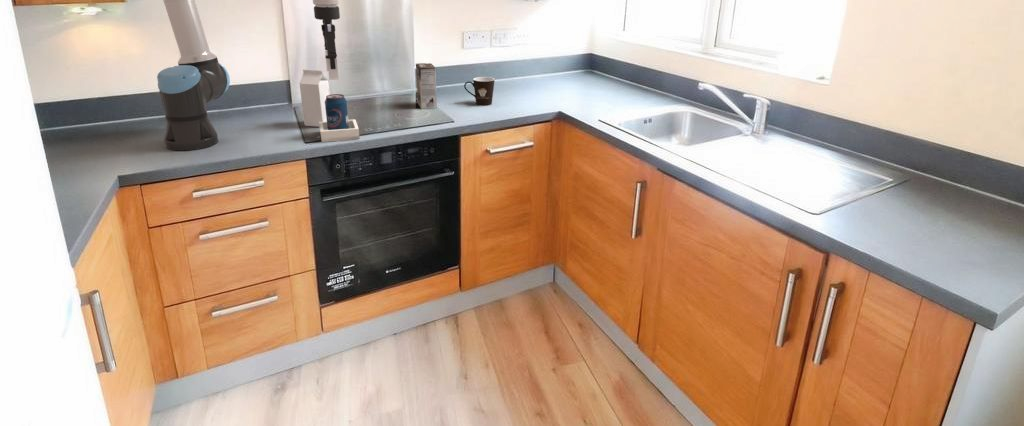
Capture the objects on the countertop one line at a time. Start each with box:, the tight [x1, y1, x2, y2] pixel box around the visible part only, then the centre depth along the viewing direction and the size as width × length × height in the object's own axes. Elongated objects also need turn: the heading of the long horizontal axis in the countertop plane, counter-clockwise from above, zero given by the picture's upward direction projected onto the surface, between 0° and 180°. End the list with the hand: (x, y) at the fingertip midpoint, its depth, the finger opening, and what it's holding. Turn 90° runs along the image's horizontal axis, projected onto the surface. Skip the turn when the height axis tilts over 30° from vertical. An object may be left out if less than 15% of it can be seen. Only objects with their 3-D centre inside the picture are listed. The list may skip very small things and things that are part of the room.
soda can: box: [325, 93, 349, 130], centre depth 200 cm, size 7×7×12 cm
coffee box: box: [415, 62, 438, 110], centre depth 237 cm, size 9×6×16 cm
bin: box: [319, 119, 360, 143], centre depth 201 cm, size 12×12×4 cm
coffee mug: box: [463, 76, 495, 107], centre depth 244 cm, size 12×9×10 cm
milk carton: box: [298, 69, 331, 128], centre depth 210 cm, size 7×7×19 cm
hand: (332, 75), depth 194 cm, fingers open, 13 cm apart
